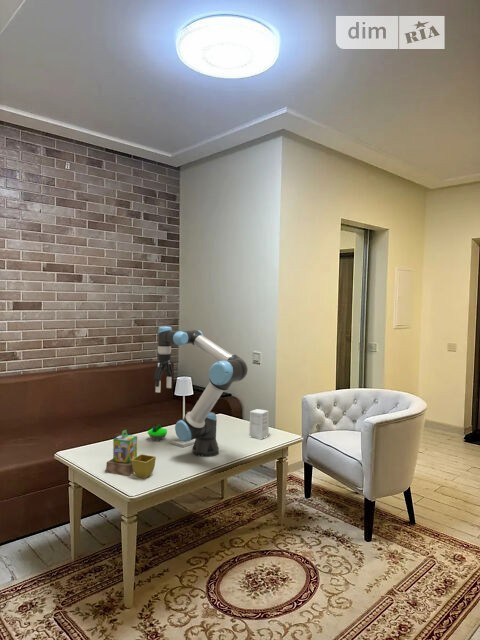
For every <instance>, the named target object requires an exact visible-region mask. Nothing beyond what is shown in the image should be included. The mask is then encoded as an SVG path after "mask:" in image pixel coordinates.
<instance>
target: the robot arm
mask: <svg viewBox="0 0 480 640" xmlns="http://www.w3.org/2000/svg"><path fill="white" fill-rule="evenodd" d="M172 345H177V346H185V345H193V346H194V347H196V348H197V349H199V350H200V351H202V352H204V354H207V356H209V357H210V358H212V359H213V360H214V361H216V362H215V363H213V364H211V367H210V369H209V370H208V371H209V372H208V373H209V375H208V377H209V378H208V381H209V383H208V384H207V385H206V387H205V389H204V390H203V392H202V393H201V395H200V396H199V399H198V400H197V401H196V403H195V405H194V407H193V408H192V410H191V411H188V412H187V413H186V414H185V416H184V417H183V418H182V419H180V420H178V421H177V422H176V423H175V426H174V429H175V430H174V431H175V434H176V437H177V438H178V440H180V441H181V442H183V443H184V442H185V443H186V442H190V441H192V440H194V442H193V445H192V447H191V448H192V449H191V450H192V451H191V452H192V454H193V455H195V456H199V457H203V458H204V457H213V456H216V455H218V454H219V451H220V450H219V448H220V447H219V445H218V441H217V415H216V413H214V412H211V411H212V410H213V408H214V407H215V405H216V403H217V402H218V400H219V399H220V397H221V396H222V394H223V393H224V392H227V391H228V390H229V389H230V388H231V386H232V385H233V383H236V382H240V381H242V380H243V379H245V378H246V376H247V374H248V372H249V371H248V365H247V363H246V361H244V360H243V358H242V357H240V356H239V355H237V354H235V353H234V354H232V353H230V352H229V351H227V350H225V349H224V348H222V346H221V347H220V345H218V344H216V343H215V342H213V341H212V340H210V339H209V338H207V337H205V335H204V333H203V332H202V331H201V330H197V329H193V330H173V329H172V327H171V326H165V325H164V326H159V327H158V331H157V360H158V361H159V362H156V367H155V373H154V375H153V382H154V381H155V391H154V392H155V393H161V385H162V383H161V378H162V375H163V373H164V372H165V373H166V375H167V376H166V389H172V379H173V377H174V369H173V365H172V354H171V353H172Z"/></svg>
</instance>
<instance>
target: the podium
mask: <svg viewBox="0 0 480 640" xmlns="http://www.w3.org/2000/svg"><path fill="white" fill-rule="evenodd" d="M105 471H106V473H110V474H117V475H121V476H129V477H130V476H131V475H133V474H135V473H134V471H133V467H132V461H131V462H130V463H124V462H114V461H113V458H112V459H110V460H107V461H106V470H105Z"/></svg>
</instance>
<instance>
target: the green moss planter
mask: <svg viewBox="0 0 480 640" xmlns="http://www.w3.org/2000/svg"><path fill="white" fill-rule="evenodd" d="M167 433H168V429H167V428H163V427H162V425H161V424H157V425H156V423H154V427H152V428H151V429H149V430H148V431H147V435H148V436H149V437H150V438H151V439H152V440H154V441H161V440H162V439H163V440H164V438H165V437H166V435H167Z"/></svg>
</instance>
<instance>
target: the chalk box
mask: <svg viewBox="0 0 480 640" xmlns="http://www.w3.org/2000/svg"><path fill="white" fill-rule="evenodd" d="M112 442H113V443H112V445H113V449H112V452H113V453H112V454H113V455H112V457H113V458H112V459H113V461H114V462H124V463H130V462H131V461H132V459H134V458H135V457H137V456H138V436H137V435H131V434H128V432H127V429H124V430H122V431H121V434H120V435H118V436H116V437H115V438H113V441H112Z"/></svg>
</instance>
